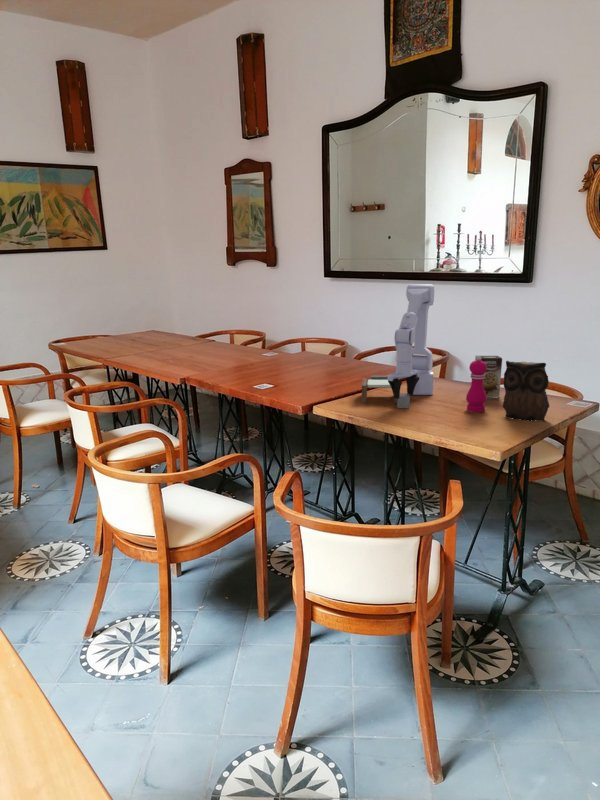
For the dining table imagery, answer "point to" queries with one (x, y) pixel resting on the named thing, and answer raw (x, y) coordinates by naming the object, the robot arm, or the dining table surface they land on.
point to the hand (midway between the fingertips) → (403, 396)
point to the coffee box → (492, 375)
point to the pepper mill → (477, 386)
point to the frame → (364, 390)
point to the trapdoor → (378, 381)
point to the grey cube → (403, 401)
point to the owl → (525, 390)
